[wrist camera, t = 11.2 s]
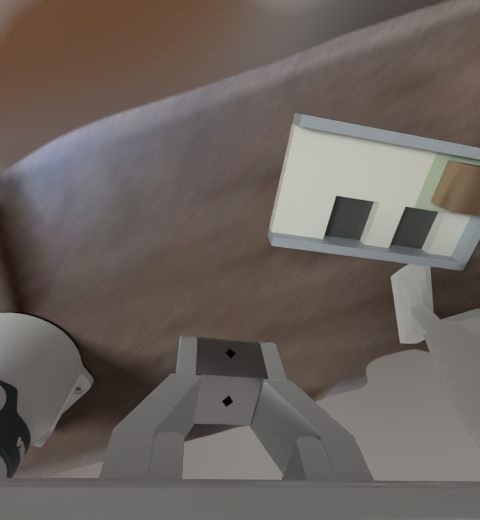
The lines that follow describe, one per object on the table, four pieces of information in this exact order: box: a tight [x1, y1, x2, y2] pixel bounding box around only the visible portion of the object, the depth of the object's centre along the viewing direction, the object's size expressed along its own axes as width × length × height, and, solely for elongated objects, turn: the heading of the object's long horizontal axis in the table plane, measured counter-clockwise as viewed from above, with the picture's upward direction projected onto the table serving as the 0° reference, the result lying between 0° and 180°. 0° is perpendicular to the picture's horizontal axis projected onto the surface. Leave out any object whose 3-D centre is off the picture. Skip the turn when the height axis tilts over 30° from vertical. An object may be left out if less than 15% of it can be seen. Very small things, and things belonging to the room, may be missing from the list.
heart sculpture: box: [391, 264, 480, 447], centre depth 35 cm, size 16×5×18 cm, turn 19°
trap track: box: [268, 113, 480, 271], centre depth 34 cm, size 23×13×3 cm, turn 80°
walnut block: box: [430, 160, 480, 217], centre depth 33 cm, size 4×4×4 cm
